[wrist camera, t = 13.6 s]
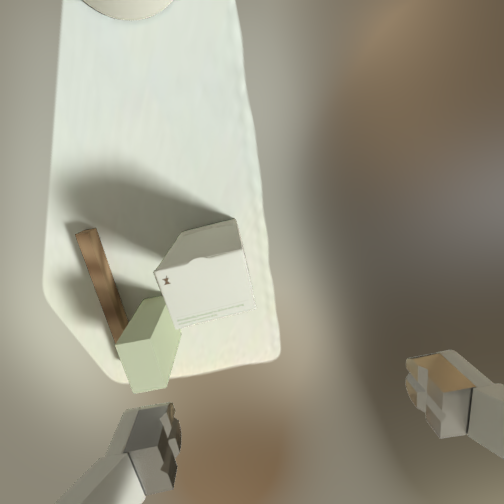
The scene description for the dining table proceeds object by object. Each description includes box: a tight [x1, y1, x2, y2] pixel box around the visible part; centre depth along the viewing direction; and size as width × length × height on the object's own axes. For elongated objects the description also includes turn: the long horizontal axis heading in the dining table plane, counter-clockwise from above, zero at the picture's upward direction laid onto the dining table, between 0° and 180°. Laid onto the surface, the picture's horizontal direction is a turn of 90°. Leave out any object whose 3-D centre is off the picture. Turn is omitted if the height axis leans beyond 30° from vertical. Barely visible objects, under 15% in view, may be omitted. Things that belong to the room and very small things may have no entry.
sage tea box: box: [115, 296, 182, 394], centre depth 38 cm, size 7×4×11 cm, turn 9°
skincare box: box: [153, 219, 256, 330], centre depth 33 cm, size 8×7×16 cm
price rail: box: [75, 228, 129, 344], centre depth 41 cm, size 22×2×2 cm, turn 9°
